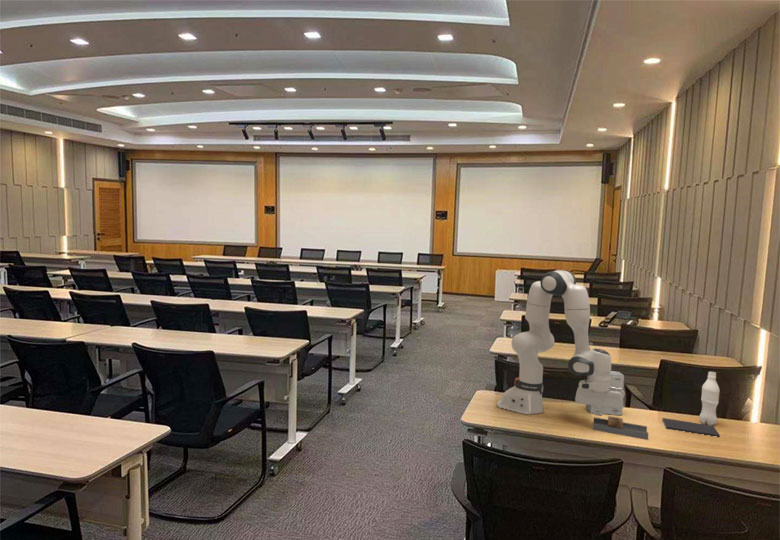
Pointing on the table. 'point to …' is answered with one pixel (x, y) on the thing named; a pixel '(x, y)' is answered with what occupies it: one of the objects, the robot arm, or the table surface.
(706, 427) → the notebook
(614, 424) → the walnut block
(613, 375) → the hard drive box
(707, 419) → the water bottle
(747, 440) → the table surface
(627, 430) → the grey parallel rails
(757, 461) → the table surface
